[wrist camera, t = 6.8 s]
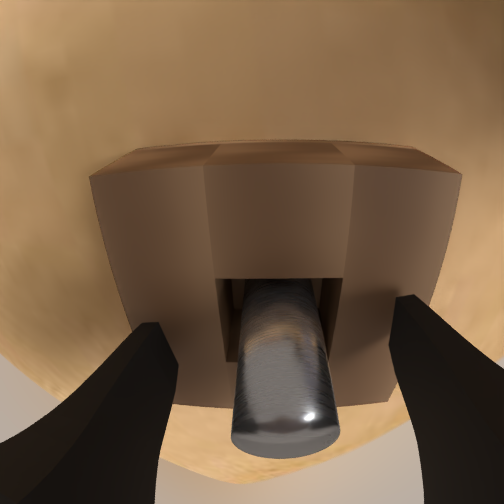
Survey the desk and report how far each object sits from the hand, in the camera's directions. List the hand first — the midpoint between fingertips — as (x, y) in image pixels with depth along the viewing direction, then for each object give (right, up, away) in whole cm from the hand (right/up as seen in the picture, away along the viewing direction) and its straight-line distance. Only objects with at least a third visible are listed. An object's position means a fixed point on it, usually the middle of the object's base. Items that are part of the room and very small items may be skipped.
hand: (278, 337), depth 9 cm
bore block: (0, +2, +4) cm, 4 cm away
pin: (0, +2, +3) cm, 4 cm away
